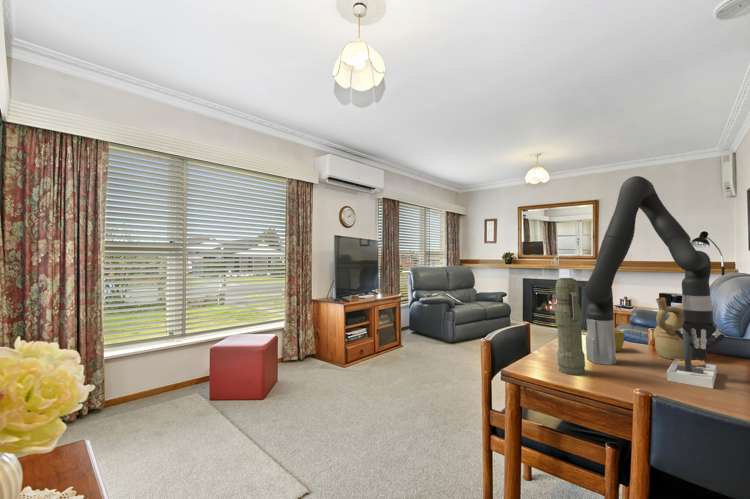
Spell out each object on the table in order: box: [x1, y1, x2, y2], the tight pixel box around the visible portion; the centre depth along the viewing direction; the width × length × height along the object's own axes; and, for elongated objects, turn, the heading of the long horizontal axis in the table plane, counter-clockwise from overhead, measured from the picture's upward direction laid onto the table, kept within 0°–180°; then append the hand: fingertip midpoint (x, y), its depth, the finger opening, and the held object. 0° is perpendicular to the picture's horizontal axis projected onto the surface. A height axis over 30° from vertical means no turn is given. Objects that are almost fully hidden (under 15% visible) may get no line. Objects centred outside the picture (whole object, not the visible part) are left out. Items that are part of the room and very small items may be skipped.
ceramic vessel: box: [652, 297, 701, 361], centre depth 140 cm, size 17×20×25 cm
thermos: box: [554, 277, 586, 376], centre depth 128 cm, size 9×12×35 cm
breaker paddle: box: [677, 359, 706, 367], centre depth 117 cm, size 2×7×2 cm, turn 42°
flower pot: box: [614, 328, 625, 352], centre depth 154 cm, size 9×9×9 cm
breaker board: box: [666, 359, 718, 390], centre depth 117 cm, size 19×11×4 cm, turn 132°
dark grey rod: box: [689, 336, 697, 360], centre depth 123 cm, size 2×2×13 cm
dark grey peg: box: [683, 332, 692, 372], centre depth 111 cm, size 2×2×13 cm
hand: (701, 359), depth 115 cm, fingers closed
